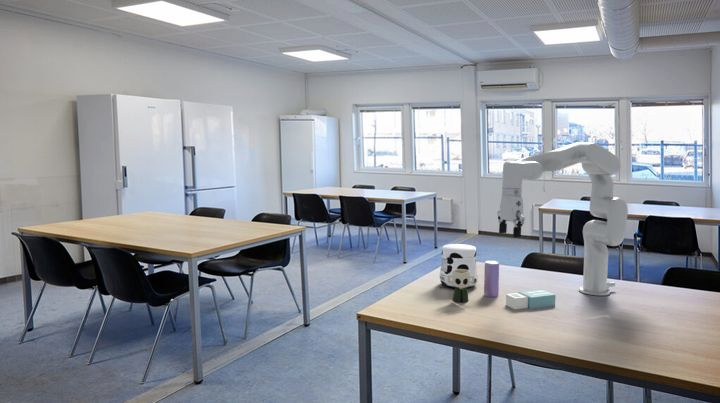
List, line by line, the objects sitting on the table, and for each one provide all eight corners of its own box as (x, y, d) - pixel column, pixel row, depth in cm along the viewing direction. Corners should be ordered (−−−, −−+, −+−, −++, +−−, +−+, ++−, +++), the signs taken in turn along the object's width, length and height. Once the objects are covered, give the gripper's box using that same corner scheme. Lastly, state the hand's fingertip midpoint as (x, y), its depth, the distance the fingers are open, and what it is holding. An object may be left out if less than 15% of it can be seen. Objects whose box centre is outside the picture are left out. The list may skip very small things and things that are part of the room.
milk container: (483, 284, 249) (483, 246, 247) (469, 293, 235) (470, 252, 233) (448, 279, 258) (448, 242, 256) (433, 287, 244) (433, 248, 242)
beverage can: (498, 298, 226) (499, 263, 224) (484, 298, 227) (484, 263, 225) (498, 294, 232) (498, 260, 230) (483, 294, 233) (484, 260, 231)
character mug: (448, 304, 219) (448, 272, 218) (446, 298, 226) (446, 268, 225) (475, 304, 218) (475, 273, 217) (472, 299, 225) (473, 269, 224)
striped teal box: (542, 300, 222) (542, 289, 222) (555, 305, 215) (555, 294, 214) (517, 303, 218) (517, 292, 218) (530, 308, 211) (530, 297, 210)
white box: (518, 303, 217) (518, 292, 217) (527, 307, 212) (528, 296, 211) (505, 305, 215) (506, 294, 215) (514, 309, 210) (515, 298, 209)
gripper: (533, 194, 207) (530, 238, 208) (507, 190, 223) (505, 231, 225) (516, 194, 204) (514, 239, 206) (491, 190, 221) (489, 232, 222)
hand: (509, 235), depth 215 cm, fingers open, 9 cm apart
